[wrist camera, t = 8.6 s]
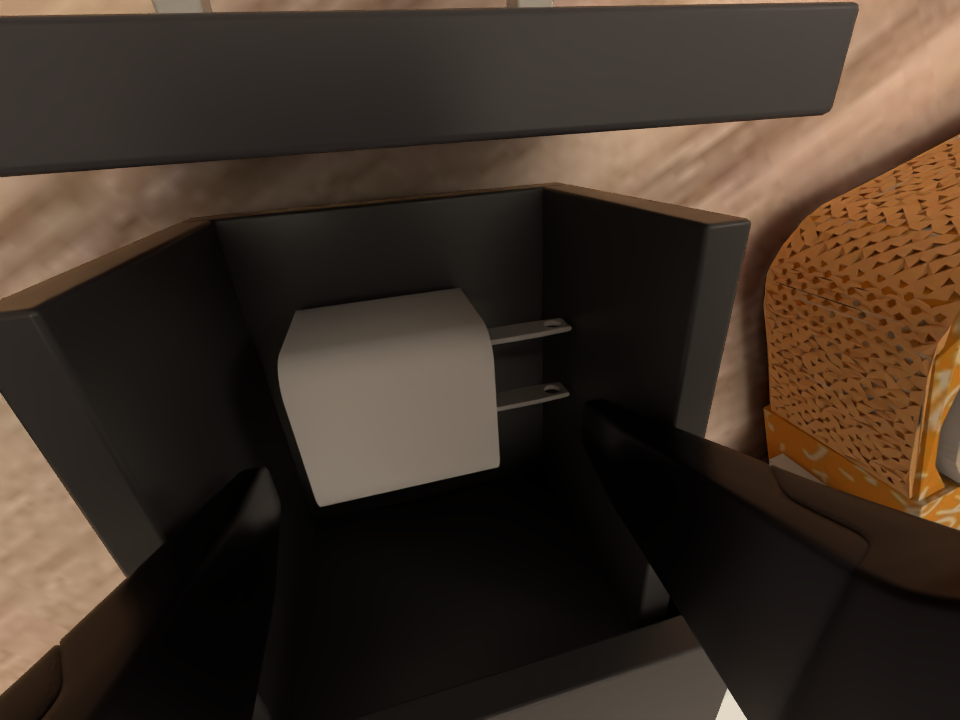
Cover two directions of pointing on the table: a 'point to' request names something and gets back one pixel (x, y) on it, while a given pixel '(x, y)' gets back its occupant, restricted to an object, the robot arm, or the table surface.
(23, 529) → the table surface
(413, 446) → the usb wall charger
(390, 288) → the cabinet drawer
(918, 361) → the device
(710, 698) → the single drawer cabinet
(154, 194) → the table surface
